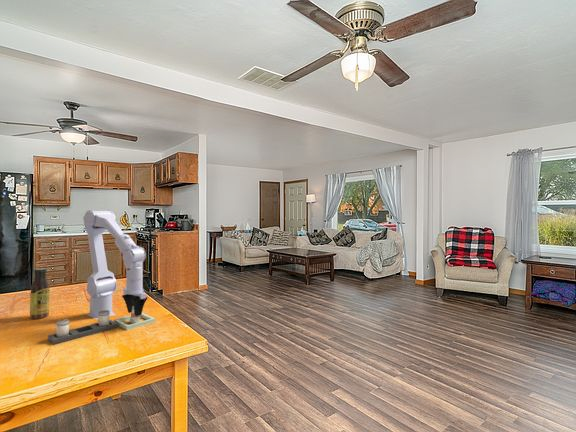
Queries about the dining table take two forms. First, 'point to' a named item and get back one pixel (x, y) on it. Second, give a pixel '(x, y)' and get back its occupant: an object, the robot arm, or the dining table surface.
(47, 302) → the sauce bottle
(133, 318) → the fuse marked
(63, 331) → the fuse
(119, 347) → the dining table surface
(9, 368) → the dining table surface
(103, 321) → the fuse
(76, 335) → the fuse block
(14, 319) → the dining table surface
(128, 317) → the tray
